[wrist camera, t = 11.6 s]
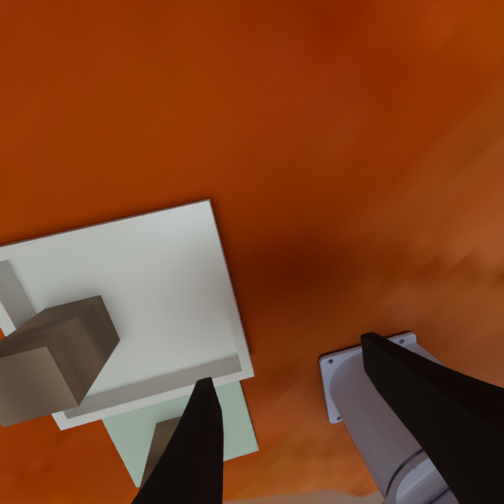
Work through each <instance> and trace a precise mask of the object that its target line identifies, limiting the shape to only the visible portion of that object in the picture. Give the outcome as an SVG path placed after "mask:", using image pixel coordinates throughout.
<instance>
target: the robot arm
mask: <svg viewBox="0 0 504 504" xmlns="http://www.w3.org/2000/svg"><path fill="white" fill-rule="evenodd" d="M330 359H331V360H330ZM329 360H330V361H329ZM319 364H320V370H321V377H322V383H323V389H324V395H325V402H326V408H327V414H328V419H329V421H330V422H331V423H337V422H340V421H343V422H344V424H345V426H346V428H347V430H348V432H349V434H350V435H351V437H352V439H353V441H354V443H355V445H356V447H357V449H358V451H359V453H360V454H361V456H362V458H363V460H364V462H365V464H366V466H367V468H368V470H369V471H370V473H371V475H372V477H373V479H374V481H375V483H376V485H377V487H378V488H379V490H380V492H381V494H382V496H383V498H384V501H383V502H382V503H381V504H504V388H501V387H498V386H495V385H492V384H489V383H486V382H483V381H481V380H478V379H475V378H473V377H470V376H467V375H464V374H462V373H459V372H457V371H454V370H452V369H449V368H448V367H446V366H445V365H444V364H443V363H441V362H440V361H439V360H438V359H436V358H435V357H434V356H433V355H431V354H430V353H429V352H427V351H426V350H425V349H424V348H422V347H421V346H420V345H419V344H417V343H416V335H415V334H414V333H412V332H408V333H404V334H401V335H397V336H394V337H390V338H384V337H382V336H380V335H378V334H376V333H374V332H370V333H366V334H363V335H361V346H358V347H354V348H351V349H347V350H343V351H340V352H336V353H333V354H329V355H326V356H323V357H321V358H320V360H319ZM223 458H224V430H223V417H222V409H221V406H220V403H219V400H218V397H217V393H216V390H215V387H214V384H213V381H212V378H211V377H207V378H203V379H200V380H198V381H197V382H196V384H195V387H194V389H193V391H192V394H191V396H190V399H189V401H188V403H187V405H186V408H185V410H184V412H183V414H182V416H181V419H180V421H179V423H178V425H177V427H176V429H175V431H174V433H173V435H172V437H171V439H170V440H169V442H168V444H167V446H166V448H165V450H164V452H163V454H162V455H161V457H160V459H159V461H158V462H157V464H156V466H155V467H154V469H153V471H152V472H151V474H150V476H149V477H148V479H147V480H146V482H145V484H144V485H143V487H142V488H141V490H140V491H139V493H138V494H137V496H136V497H135V499H134V500H133V502H132V503H131V504H222V496H223Z"/></svg>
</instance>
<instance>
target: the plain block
mask: <svg viewBox="0 0 504 504" xmlns="http://www.w3.org/2000/svg"><path fill="white" fill-rule="evenodd" d="M119 342H120V338H119V336H118V334H117V332H116V329H115V327H114V325H113V322H112V320H111V318H110V315H109V313H108V311H107V308H106V306H105V304H104V301H103V299H102V297H101V295H99V296H95V297H91V298H87V299H82V300H78V301H74V302H70V303H66V304H62V305H58V306H54V307H50V308H46V309H44V310H42V311H41V312H40V313H38V314H37V315H35V316H34V317H33V318H31V319H30V320H28V321H27V322H26V323H24V324H23V325H21V326H20V327H19V328H17V329H16V330H14V331H13V332H12V333H10V334H9V335H8V336H6V337H5V338H3V339H2V340H1V341H0V423H1V425H2V426H3V427H6V426H9V425H13V424H17V423H20V422H24V421H27V420H31V419H35V418H38V417H42V416H46V415H49V414H53V413H57V412H60V411H64V410H68V409H71V408H75V407H78V406H79V405H80V404H81V402H82V401H83V399H84V397H85V396H86V394H87V393H88V391H89V389H90V388H91V386H92V385H93V383H94V381H95V380H96V378H97V377H98V375H99V373H100V372H101V370H102V369H103V367H104V365H105V364H106V362H107V361H108V359H109V358H110V356H111V354H112V353H113V351H114V350H115V348H116V346H117V345H118V343H119Z"/></svg>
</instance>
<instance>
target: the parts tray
mask: <svg viewBox="0 0 504 504" xmlns="http://www.w3.org/2000/svg"><path fill="white" fill-rule="evenodd" d="M99 295H101V297H102V299H103V301H104V304H105V306H106V308H107V311H108V313H109V315H110V318H111V320H112V322H113V325H114V327H115V329H116V332H117V334H118V336H119V338H120V342H119V343H118V345H117V346H116V348H115V350H114V351H113V353H112V354H111V356H110V358H109V359H108V361H107V362H106V364H105V365H104V367H103V369H102V370H101V372H100V373H99V375H98V377H97V378H96V380H95V381H94V383H93V385H92V386H91V388H90V389H89V391H88V393H87V394H86V396H85V397H84V399H83V401H82V402H81V404H80V405H79V406H78V407H75V408H71V409H68V410H64V411H60V412H57V413H53V414H52V416H53V418H54V419H55V421H56V423H57V424H58V426H59V428H60V430H64V429H67V428H71V427H74V426H78V425H81V424H85V423H89V422H92V421H96V420H99V419H103V418H106V417H110V416H114V415H117V414H121V413H124V412H128V411H131V410H135V409H139V408H142V407H146V406H149V405H153V404H156V403H160V402H164V401H167V400H171V399H174V398H178V397H182V396H185V395H189V394H192V391H193V389H194V387H195V384H196V382H197V381H198V380H200V379H203V378H207V377H211V378H212V381H213V384H214V387H217V386H221V385H224V384H228V383H232V382H235V381H239V380H242V379H246V378H249V377H253V376H254V371H253V366H252V361H251V356H250V352H249V348H248V344H247V340H246V336H245V332H244V328H243V324H242V320H241V317H240V313H239V309H238V305H237V301H236V297H235V293H234V289H233V285H232V281H231V277H230V274H229V270H228V266H227V262H226V258H225V254H224V250H223V246H222V242H221V238H220V234H219V231H218V227H217V223H216V219H215V215H214V211H213V207H212V203H211V199H205V200H201V201H196V202H192V203H187V204H183V205H178V206H174V207H170V208H165V209H161V210H156V211H152V212H147V213H143V214H138V215H134V216H129V217H125V218H121V219H116V220H112V221H107V222H103V223H98V224H94V225H89V226H85V227H81V228H76V229H72V230H67V231H63V232H58V233H54V234H49V235H45V236H41V237H36V238H32V239H27V240H23V241H18V242H14V243H9V244H5V245H0V327H1V329H2V331H3V332H4V334H5V336H8V335H9V334H10V333H12V332H13V331H14V330H16V329H17V328H19V327H20V326H21V325H23V324H24V323H26V322H27V321H28V320H30V319H31V318H33V317H34V316H35V315H37V314H38V313H40V312H41V311H42V310H44V309H46V308H50V307H54V306H58V305H62V304H66V303H70V302H74V301H78V300H82V299H87V298H91V297H95V296H99Z"/></svg>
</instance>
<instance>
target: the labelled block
mask: <svg viewBox="0 0 504 504" xmlns="http://www.w3.org/2000/svg"><path fill="white" fill-rule="evenodd" d="M180 419H181V416H180V417H176V418H172V419H169V420H165V421H162V422H158V423H156V426H155V430H154V434H153V438H152V442H151V446H150V450H149V453H148V457H147V461H146V465H145V469H144V473H143V477H142V481H141V484H140V488H139V491H140V490H141V488H142V487H143V485H144V484H145V482H146V480H147V479H148V477H149V476H150V474H151V472H152V471H153V469H154V467H155V466H156V464H157V462H158V461H159V459H160V457H161V455H162V454H163V452H164V450H165V448H166V446H167V444H168V442H169V440H170V439H171V437H172V435H173V433H174V431H175V429H176V427H177V425H178V423H179V421H180ZM138 493H139V492H138Z"/></svg>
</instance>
